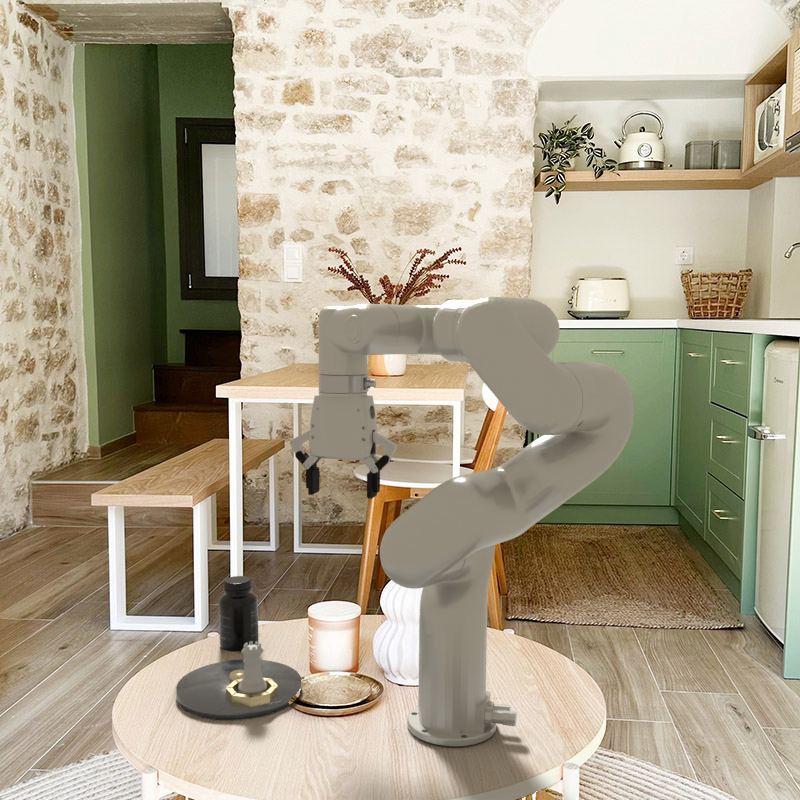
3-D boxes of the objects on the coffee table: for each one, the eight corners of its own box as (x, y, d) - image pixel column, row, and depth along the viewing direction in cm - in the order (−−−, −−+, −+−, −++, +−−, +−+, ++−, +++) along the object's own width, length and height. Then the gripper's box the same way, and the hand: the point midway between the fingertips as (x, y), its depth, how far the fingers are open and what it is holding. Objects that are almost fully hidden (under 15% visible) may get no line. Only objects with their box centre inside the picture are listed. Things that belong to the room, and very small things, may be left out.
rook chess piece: (252, 705, 125) (251, 652, 125) (231, 697, 128) (230, 645, 127) (274, 695, 129) (273, 643, 128) (253, 687, 132) (253, 636, 131)
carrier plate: (319, 675, 140) (319, 657, 140) (270, 727, 122) (270, 706, 122) (213, 662, 145) (213, 645, 145) (152, 710, 127) (151, 690, 127)
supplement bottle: (245, 635, 158) (244, 571, 157) (265, 646, 153) (265, 579, 152) (211, 644, 154) (211, 578, 153) (232, 655, 149) (231, 587, 148)
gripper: (403, 386, 135) (402, 494, 136) (300, 383, 140) (300, 487, 141) (389, 389, 128) (388, 503, 129) (281, 386, 132) (281, 496, 134)
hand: (342, 495), depth 135 cm, fingers open, 9 cm apart
